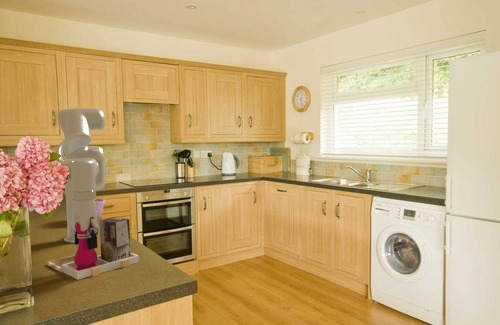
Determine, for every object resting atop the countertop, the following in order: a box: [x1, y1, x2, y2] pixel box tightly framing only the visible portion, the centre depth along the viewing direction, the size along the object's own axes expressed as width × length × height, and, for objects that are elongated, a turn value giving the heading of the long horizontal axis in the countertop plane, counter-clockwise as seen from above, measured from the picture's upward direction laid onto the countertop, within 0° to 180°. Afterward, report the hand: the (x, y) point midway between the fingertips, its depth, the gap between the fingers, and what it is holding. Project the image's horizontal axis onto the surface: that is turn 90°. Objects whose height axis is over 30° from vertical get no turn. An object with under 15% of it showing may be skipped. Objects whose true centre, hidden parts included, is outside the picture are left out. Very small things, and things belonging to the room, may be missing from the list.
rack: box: [61, 252, 140, 280], centre depth 132 cm, size 13×22×2 cm, turn 139°
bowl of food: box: [95, 197, 106, 220], centre depth 209 cm, size 20×20×12 cm
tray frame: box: [46, 254, 75, 273], centre depth 136 cm, size 11×11×1 cm
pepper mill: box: [73, 222, 98, 271], centre depth 127 cm, size 7×7×20 cm
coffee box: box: [98, 216, 131, 262], centre depth 136 cm, size 9×6×16 cm
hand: (86, 246), depth 128 cm, fingers open, 8 cm apart
